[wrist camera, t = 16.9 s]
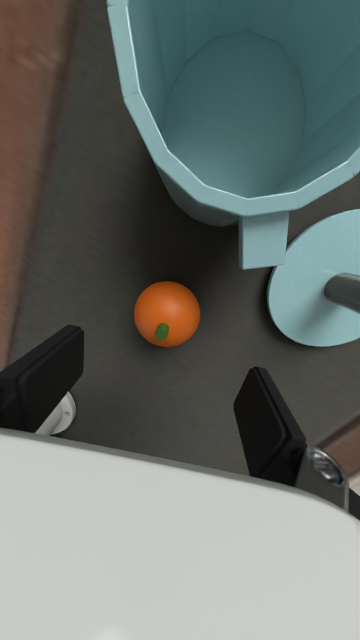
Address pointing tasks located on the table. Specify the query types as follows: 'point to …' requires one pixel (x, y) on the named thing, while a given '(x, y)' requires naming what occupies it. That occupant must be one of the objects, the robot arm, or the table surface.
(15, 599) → the robot arm
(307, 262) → the pot lid
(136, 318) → the orange
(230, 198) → the pot
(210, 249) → the table surface
